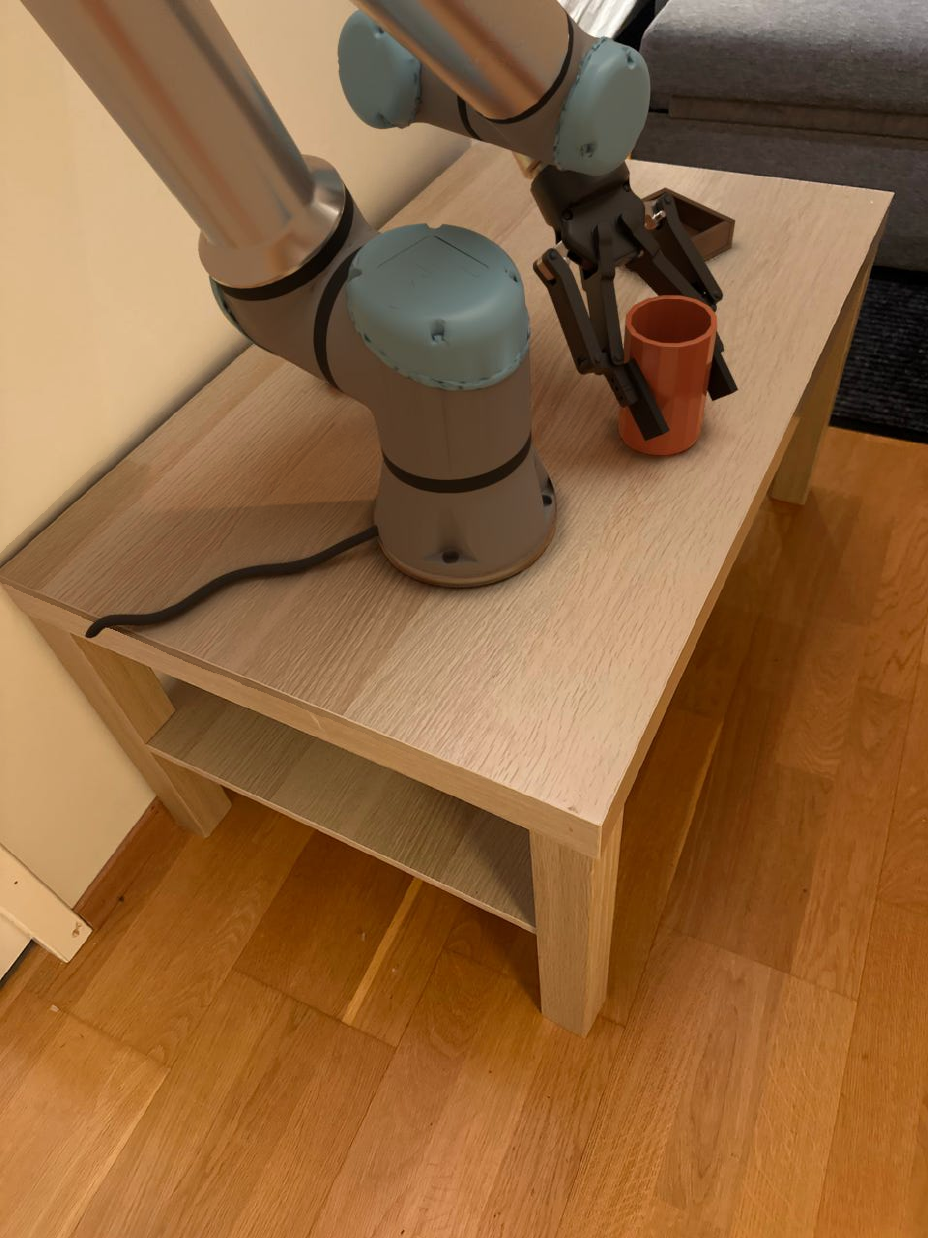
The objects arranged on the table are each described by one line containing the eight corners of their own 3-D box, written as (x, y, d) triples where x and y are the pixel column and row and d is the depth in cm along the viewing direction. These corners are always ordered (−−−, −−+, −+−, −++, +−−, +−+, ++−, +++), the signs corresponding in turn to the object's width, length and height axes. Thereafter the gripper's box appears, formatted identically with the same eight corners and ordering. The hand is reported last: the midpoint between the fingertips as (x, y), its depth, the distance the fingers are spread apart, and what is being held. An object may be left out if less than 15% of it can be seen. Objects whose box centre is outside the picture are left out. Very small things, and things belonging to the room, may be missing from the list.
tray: (661, 284, 95) (663, 257, 92) (594, 247, 101) (594, 221, 98) (731, 247, 98) (735, 219, 96) (663, 213, 104) (665, 186, 101)
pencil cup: (658, 466, 77) (670, 357, 69) (601, 426, 81) (606, 318, 72) (717, 430, 79) (736, 320, 71) (660, 393, 83) (671, 284, 75)
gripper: (636, 140, 79) (746, 378, 82) (450, 223, 72) (579, 476, 76) (686, 92, 72) (804, 353, 75) (486, 178, 65) (626, 460, 69)
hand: (691, 415), depth 76 cm, fingers closed on pencil cup, 7 cm apart
